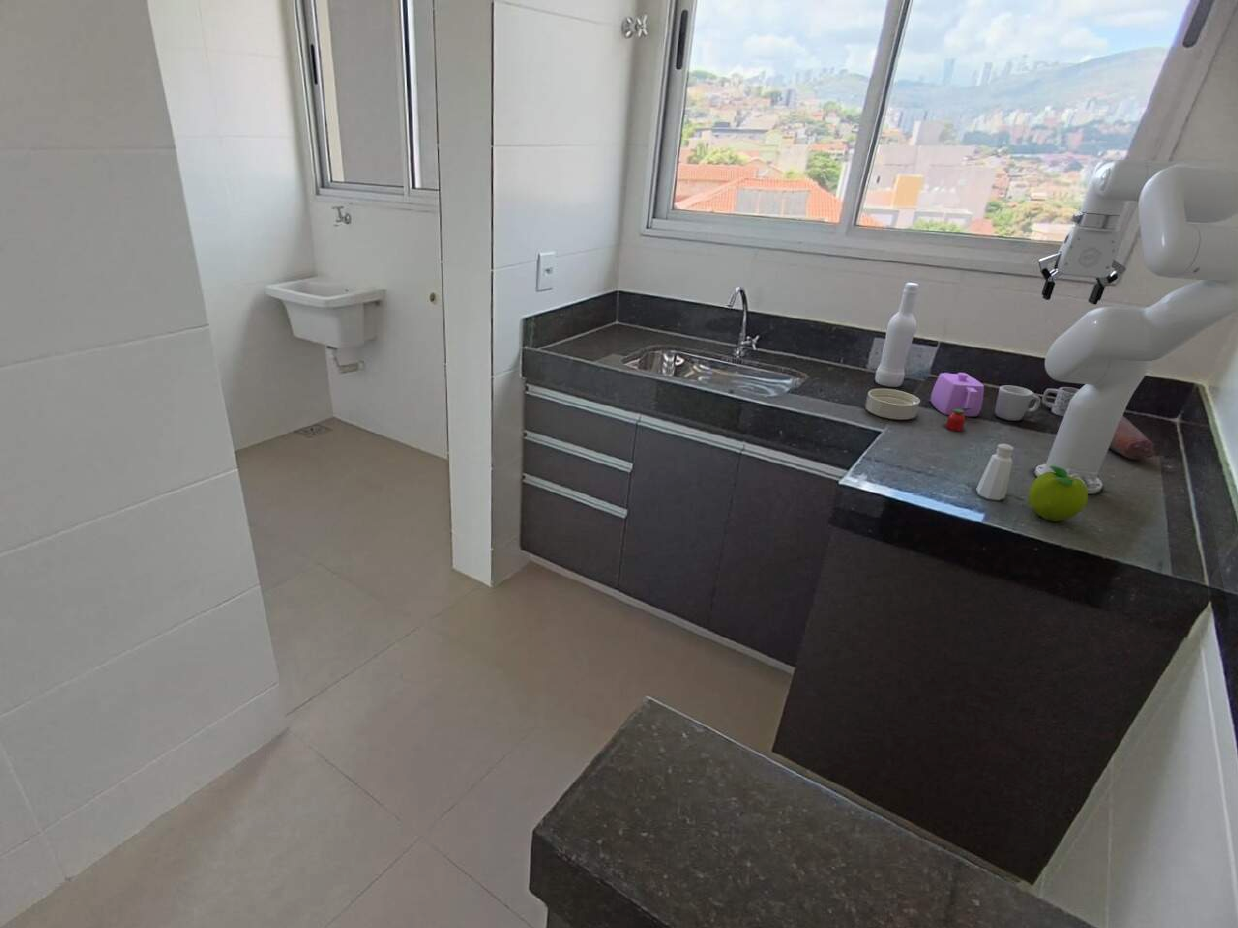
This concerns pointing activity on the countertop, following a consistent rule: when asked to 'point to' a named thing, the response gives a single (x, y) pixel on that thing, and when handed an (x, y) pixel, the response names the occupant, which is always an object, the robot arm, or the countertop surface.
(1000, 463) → the pepper shaker
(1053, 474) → the fruit
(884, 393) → the bowl
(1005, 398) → the cup
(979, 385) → the teapot
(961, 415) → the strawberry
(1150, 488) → the countertop surface
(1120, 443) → the food
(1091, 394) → the robot arm
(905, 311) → the bottle
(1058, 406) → the mug
